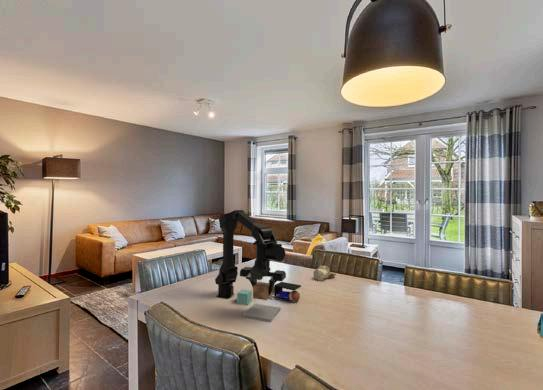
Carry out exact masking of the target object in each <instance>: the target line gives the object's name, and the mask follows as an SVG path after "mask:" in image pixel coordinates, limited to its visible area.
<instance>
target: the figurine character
mask: <svg viewBox="0 0 543 390" xmlns="http://www.w3.org/2000/svg"><path fill="white" fill-rule="evenodd" d="M301 287H302V285H300V284H296V283H290V282H285V281H279V282H278V283H275V284H274V287H273V289H272V295H274V296H273V298H275V299H276V298H282V299H287V300H288V299H289V300H290V301H291V302H293V303H297V302H298V301H300V297H301V294H300V293H299V291H297V290H298V289H299V288H301ZM284 290H285V291H284ZM287 290H291V291H287Z"/></svg>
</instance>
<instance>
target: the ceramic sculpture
mask: <svg viewBox="0 0 543 390" xmlns="http://www.w3.org/2000/svg"><path fill="white" fill-rule="evenodd" d="M336 275H337V273H333V272H331V270H330V268H329V266H326V265H325V264H321V265H319V266H318V268H316V269H314V271H313V277H314V279H315V280H316V281H319V282H321V281H324V280H325V279H328V278H334V277H335V276H336Z"/></svg>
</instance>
